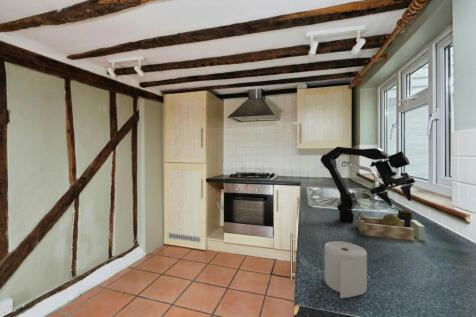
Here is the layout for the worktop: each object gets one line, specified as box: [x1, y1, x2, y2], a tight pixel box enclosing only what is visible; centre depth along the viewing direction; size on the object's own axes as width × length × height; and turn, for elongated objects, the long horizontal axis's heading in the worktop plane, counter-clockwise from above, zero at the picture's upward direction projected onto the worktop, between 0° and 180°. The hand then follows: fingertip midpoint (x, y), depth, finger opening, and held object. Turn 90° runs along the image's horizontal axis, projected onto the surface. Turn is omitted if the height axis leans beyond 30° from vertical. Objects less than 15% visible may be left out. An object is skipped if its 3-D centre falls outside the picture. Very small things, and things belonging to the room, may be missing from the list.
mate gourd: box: [395, 206, 414, 228], centre depth 111 cm, size 7×8×10 cm
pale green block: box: [410, 219, 426, 242], centre depth 98 cm, size 2×10×6 cm, turn 158°
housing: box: [356, 211, 415, 241], centre depth 103 cm, size 20×13×8 cm
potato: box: [382, 213, 403, 227], centre depth 102 cm, size 8×13×8 cm, turn 140°
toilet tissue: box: [323, 240, 368, 299], centre depth 61 cm, size 11×12×10 cm
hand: (400, 203), depth 102 cm, fingers open, 9 cm apart
